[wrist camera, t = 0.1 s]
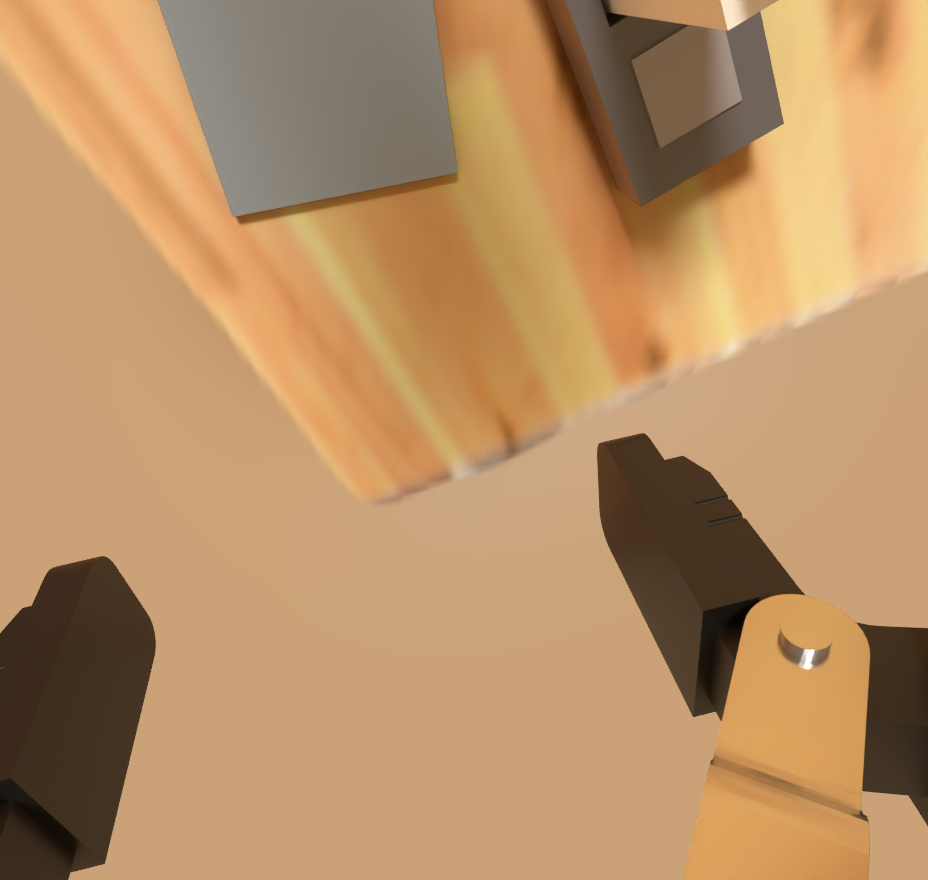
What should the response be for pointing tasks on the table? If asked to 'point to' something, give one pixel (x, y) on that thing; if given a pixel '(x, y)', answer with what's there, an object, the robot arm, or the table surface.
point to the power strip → (667, 91)
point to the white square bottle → (690, 11)
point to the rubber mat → (314, 95)
